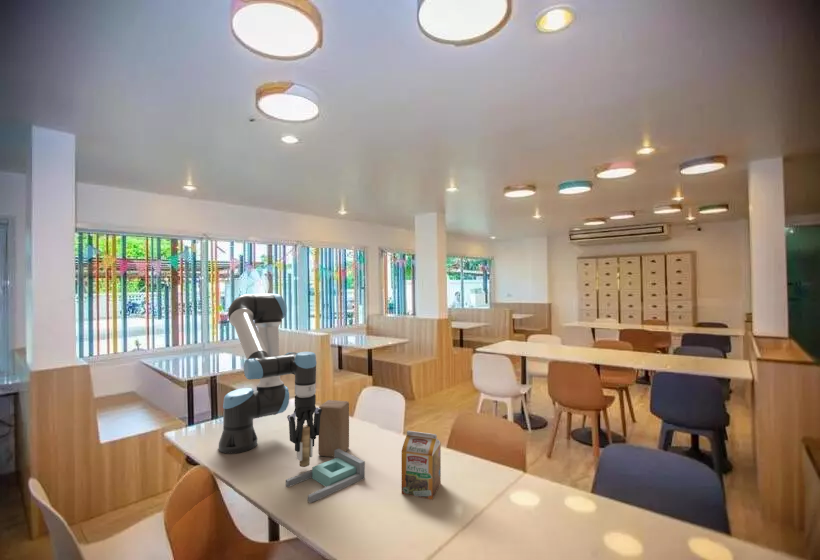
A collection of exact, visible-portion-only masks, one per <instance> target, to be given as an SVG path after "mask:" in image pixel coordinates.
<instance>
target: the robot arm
mask: <svg viewBox="0 0 820 560" xmlns="http://www.w3.org/2000/svg"><path fill="white" fill-rule="evenodd" d="M286 313H287V305H286V302H285V300H284V298H283V296H282V295H281V294H279V293H271V292H270V293H245V294H242V295H240V296H238V297H236V298H235V299H233V301H232V302H231V304H230V305H229V307H228V311H227V317H228V320H229V323H230V325H232V326H233V327H234V329H235V331H236V334H237V338H238V339H239V342H240V344H241V347H242V350H243V353H244V355H245V358H246V359H245V360H244V363H243V373H244V377H245V378H246V380H259V382H258V383H257V385H256V390H254V389H253V388H251V387H242V388H237V389H234V390H231V391H229V392H228V393H226V394H225V395H224V397H223V404H222V410H223V411H222V412H223V413H222V416H223V417H222V418H223V422H222V423H223V425H222V426H223V427H222V434H221V436H220V438H219V441H218V451H219V452H220V453H222V454H238V453H243V452H244V453H245V452H247V451H250V450H253V449H254V448H255V447H256V446H257V445H258V436H257V434H256V430H255V428H254V419H260V418H263V417H269V416H276V415H278V414H282V413H284V412H285V411H286V410H287V409H288V406H289V403H290V390H289V387H287V386H286V385H285V382H284V381H283V380H282V379H281V376H286V375H294V395H295V396H294V410H293V413H292V414H288V415H287V417H286V418H287V421H288V427H289V428H288V431H289V441H290V442H291V443H293V444H294V451H295V452H296V460H298V461H299V462H300V461H302V444H303V443H302V442H301V436H302V430H303V425H305V421H306V425H308V426H310V458H312V457H313V456H314V455H313V451H314V450H313V449H314V448H313V447H315V440H316V439H317V437H319V430H320V415H321V412H322V409H320V408H319V406H318V407H317V406H316V403H317V399H316V398H317V397H316V391H317V390H316V388H317V385H316V384H317V382H316V379H317V355H316V353H315V352H313V351H301V352H295V351H294V352H292V351H291V352H286V353H285V354H282V355H281V354H280V337H279V335H280V334H279V333H280V332H279V326H280V325H281V324H282V322H283V321H282V319H285V317H286Z"/></svg>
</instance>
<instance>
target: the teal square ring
mask: <svg viewBox="0 0 820 560" xmlns="http://www.w3.org/2000/svg"><path fill="white" fill-rule="evenodd" d="M311 470H312V478H311V479H313V480H314V481H315V482H317V483H319V484H320V485H322V486H324V488H325V487H327V486H329V485H332V484H334V483H336V482H339V481H341V480H343V479H345V478H348V477H350V476H352V475H355V474H356V467H355V466H354V465H352V464H350V463H348V462H346V461H344V460H342V459H340V458H338V457H337V458H335V459H334V458H332V459H330V460H328V461H325V462H321V463H319V464H316V465H315V466H312V468H311Z"/></svg>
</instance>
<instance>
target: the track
mask: <svg viewBox="0 0 820 560" xmlns="http://www.w3.org/2000/svg"><path fill="white" fill-rule="evenodd" d="M337 457H338V458H340V459H342V460H344V461H346V462H348V463H350V464H352V465H354V466H355V467H356V474H355V475H352V476H350V477H348V478H345V479H343V480H341V481H339V482H336V483H334V484H332V485H329V486H327V487H325V486H324V487H323V488H320V489H318V490H316V491H314V492H311V493H309V494H308V495H307V502H309V503H310V504H311V503H314V502H316V501H318V500H320V499H322V498H324V497H327V496H329V495H332V494H333V493H336V492H337V491H340V490H343V489H345V488H347V487H349V486H351V485H353V484H355V483H357V482H360V481H361V480H364V479H365V477H366V476H365V474H366V473H365V472H366V471H365V466H366V465H365V464H366V463H365V462H366V461H364V460H362V459H360V458H359V457H357V456H354V455H353V454H351V453H348V452H347V451H346V452H345V451H343V450H341V449H336V450H334V457H333V459H335V458H337ZM309 479H312V469H310V470H307V471H305V472H302V473H299V474H297V475H294V476H292V477H290V478H286V479H285V486H286V487H288V488H290V487H292V486H294V485H297V484H298V483H302V482H304V481H306V480H309Z"/></svg>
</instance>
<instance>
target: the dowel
mask: <svg viewBox="0 0 820 560" xmlns="http://www.w3.org/2000/svg"><path fill="white" fill-rule="evenodd" d="M301 442H302V443H303V444H302V461H300V460H299V467H302V468H305V467H309V466H310V461H311V459H310V458H311V457H310V426H308V425H307V424H303V430H302V436H301Z"/></svg>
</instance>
